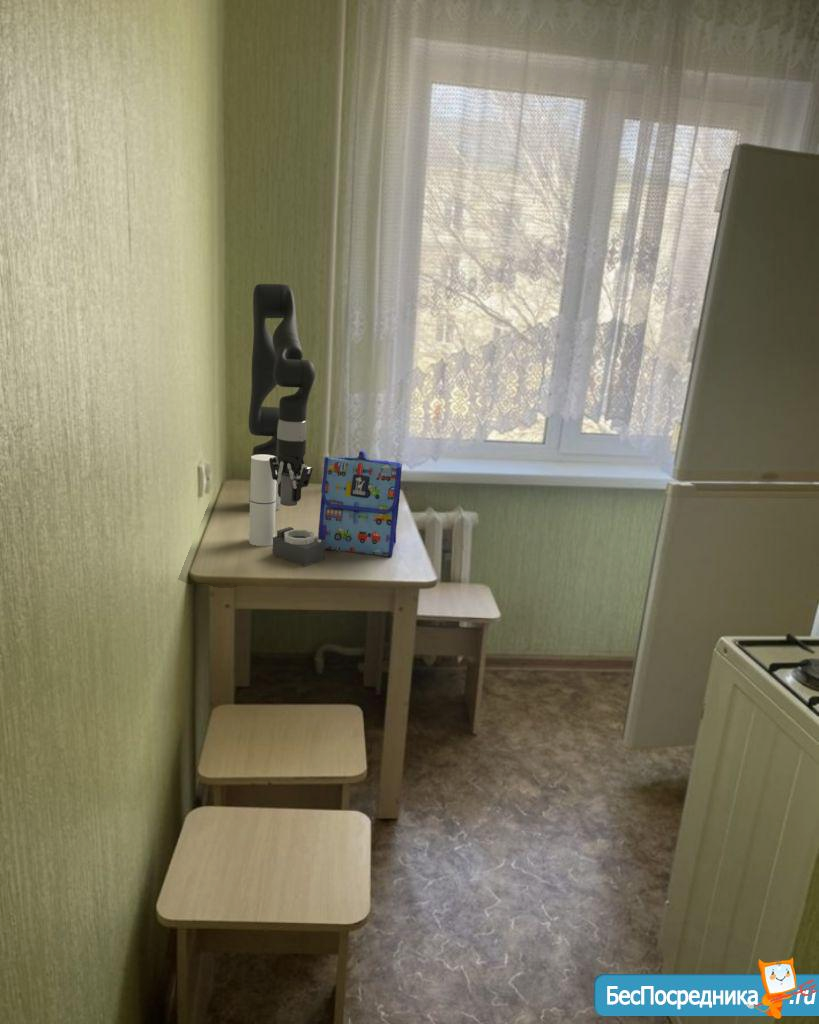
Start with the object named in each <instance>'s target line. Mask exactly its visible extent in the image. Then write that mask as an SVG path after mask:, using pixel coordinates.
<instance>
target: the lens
mask: <svg viewBox="0 0 819 1024" xmlns="http://www.w3.org/2000/svg"><path fill="white" fill-rule="evenodd" d="M296 476H298V474H297V475H295V477H296ZM297 484H298V479H297ZM293 488H294V487H293V482H292V480H291V479H290V474H289V473H285V472H283V474H281V497H280V506H281V505H282V506H285V507H292V506H297V505H298V501H297V502H294V501H292V495H293Z"/></svg>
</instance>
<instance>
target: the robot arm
mask: <svg viewBox="0 0 819 1024" xmlns="http://www.w3.org/2000/svg"><path fill="white" fill-rule="evenodd" d="M252 295H253V296H252V313H253V341H252V354H251V355H252V356H251V394H250V403H249V404H250V405H249V413H248V414H249V415H248V431H249V432H250V434H251V435H253V436H258V437H259V436H260V437H271V439H270V440H268V441H267V442H266V441H265V442H264V443H260V444H257V445H255V446H254V447H252V448H253V449H252V456H253V455H259V454H265V455H273V456H276V457H272V458H270V459H269V461H270V467H271V473H272V478H273V480H276V508H275V512H276V511H278V510H280V509H281V508H280V506H281V504H280V497H281V474H283V472H285V473H289V474H290V479H291V480H292V482H293V487H294V488H293V495H292V501H294V502H297V503H298V502H299V501H301V499H302V488H307V487H308V486H309V484H310V479H311V475H312V472H313V466H308V465H306V464H305V460H304V457H305V455H306V450H307V447H306V446H307V412H308V411H307V410H308V409H307V408H308V402H309V398H310V393H311V391H312V387H313V385H314V381H315V378H316V368H315V365H314V363H313V361H310V360H309V359H303V355H304V353H303V348H302V345H301V342H300V341H301V340H300V337H299V333H298V321H297V312H296V310H297V309H296V302H295V295H294V293H293V290H292V288H291V286H290V285H288V284H282V283H275V284H274V283H259V284H258V283H257V284H256V285H255V286H254V289H253V294H252ZM266 319H282V320H281V322H280V323H279V324H278V325H277V327H276V328H275V330H274V332H273V334H272V335H273V336H272V335H271V333H270V331H269V329H268V326H267V324H266ZM277 385H278V386H279V387H281V388H297V389H298V390H297V391H296V392H295V393H293V394H289V395H285V396H282V397H281V398H280V399H279V405H278V406H277V407H275V406H262V405H263V403H264V401H265V400H266V398H267V397H268V395H269V394H270V393H271V392H272V391H273V390H274V389H275V388H276V387H277ZM276 471H277V475H276ZM297 474H298V476H296V477H295V475H297ZM297 479H298V484H297ZM250 485H251V477H250V478H249V486H250ZM248 506H249V507H250V488H249V497H248Z"/></svg>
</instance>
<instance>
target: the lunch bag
mask: <svg viewBox="0 0 819 1024" xmlns="http://www.w3.org/2000/svg"><path fill="white" fill-rule="evenodd" d="M323 463H324V465H323V475H322V481H321V489H320V490H321V492H320V493H321V496H320V498H321V500H320V509H319V521H318V533H317V535H318V536H317V539H320V540H321V541H324V542H325V550H330V551H337V552H338V551H339V552H347V553H356V554H364V555H365V554H367V555H373V556H374V555H375V556H384V557H393V551H394V546H395V545H396V543H397V525H398V519H399V518H398V516H399V507H400V506H399V505H400V495H401V483H402V481H401V480H402V470H403V469H402V467H403V463H401V462H397V461H389V460H380V459H379V460H378V459H370V458H368V456H367V453H366V451H365V449H362V450H360V451H359V453H358V456H356V457H349V456H338V457H335V456H330V457H328V456H325V457H324V461H323Z"/></svg>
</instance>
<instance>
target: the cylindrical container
mask: <svg viewBox="0 0 819 1024" xmlns="http://www.w3.org/2000/svg"><path fill="white" fill-rule="evenodd" d="M272 457H276V456H273V455H265V454H259V455H253V454H252V455H251V457H250V478H251V485H250V484H249V489H250V506H249V526H248V528H249V531H248V536H249V537H248V539H249V540H248V543H249V544H250V545H252V546H255V545H256V546H257V547H270V546H273V537H276V536H275V532H276V511H275V508H276V480H273V478H272V473H271V467H270V461H269V459H270V458H272ZM276 475H277V471H276ZM269 545H270V546H269ZM256 546H255V547H256Z"/></svg>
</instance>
